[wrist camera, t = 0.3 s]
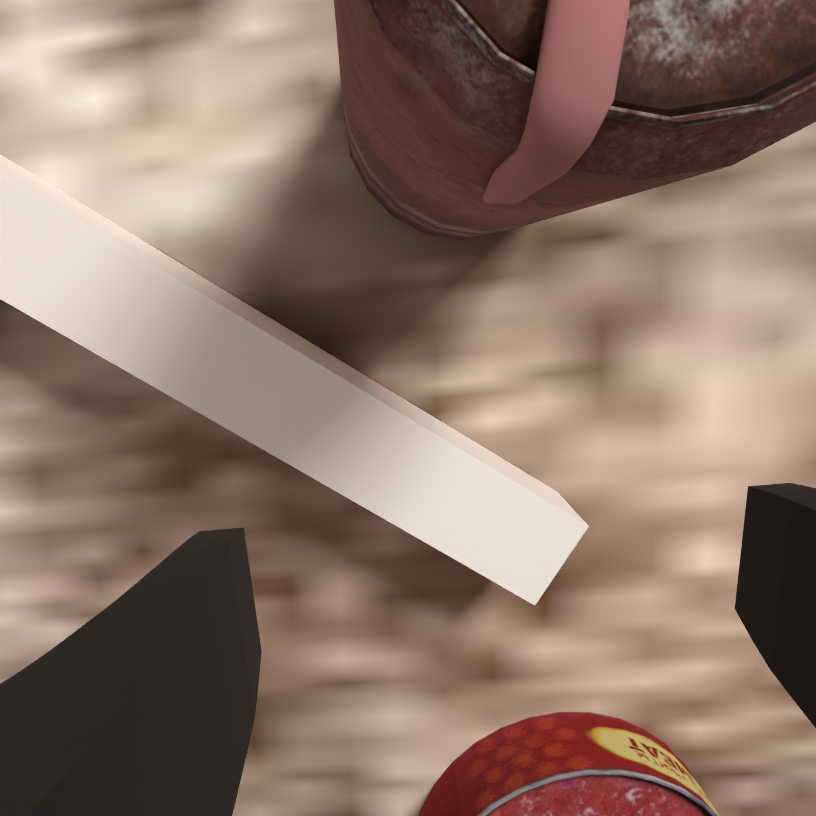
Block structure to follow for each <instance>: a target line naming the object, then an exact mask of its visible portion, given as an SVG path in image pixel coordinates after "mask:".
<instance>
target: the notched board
mask: <svg viewBox="0 0 816 816" xmlns="http://www.w3.org/2000/svg"><path fill="white" fill-rule="evenodd" d="M1 300H3V301H4V302H6V303H8V304H10V305H11V306H13V307H15V308H17V309H18V310H20V311H22V312H24V313H25V314H27V315H29V316H31V317H32V318H34V319H36V320H38V321H39V322H41V323H43V324H45V325H46V326H48V327H50V328H52V329H53V330H55V331H57V332H58V333H60V334H62V335H64V336H65V337H67V338H69V339H71V340H72V341H74V342H76V343H78V344H79V345H81V346H83V347H85V348H86V349H88V350H90V351H92V352H93V353H95V354H97V355H99V356H100V357H102V358H104V359H106V360H107V361H109V362H111V363H113V364H114V365H116V366H118V367H120V368H121V369H123V370H125V371H127V372H128V373H130V374H132V375H134V376H135V377H137V378H139V379H141V380H142V381H144V382H146V383H147V384H149V385H151V386H153V387H154V388H156V389H158V390H160V391H161V392H163V393H165V394H167V395H168V396H170V397H172V398H174V399H175V400H177V401H179V402H181V403H182V404H184V405H186V406H188V407H189V408H191V409H193V410H195V411H196V412H198V413H200V414H202V415H203V416H205V417H207V418H209V419H210V420H212V421H214V422H216V423H217V424H219V425H221V426H223V427H224V428H226V429H228V430H230V431H231V432H233V433H235V434H237V435H238V436H240V437H242V438H243V439H245V440H247V441H249V442H250V443H252V444H254V445H256V446H257V447H259V448H261V449H263V450H264V451H266V452H268V453H270V454H271V455H273V456H275V457H277V458H278V459H280V460H282V461H284V462H285V463H287V464H289V465H291V466H292V467H294V468H296V469H298V470H299V471H301V472H303V473H305V474H306V475H308V476H310V477H312V478H313V479H315V480H317V481H319V482H320V483H322V484H324V485H326V486H327V487H329V488H331V489H333V490H334V491H336V492H338V493H339V494H341V495H343V496H345V497H346V498H348V499H350V500H352V501H353V502H355V503H357V504H359V505H360V506H362V507H364V508H366V509H367V510H369V511H371V512H373V513H374V514H376V515H378V516H380V517H381V518H383V519H385V520H387V521H388V522H390V523H392V524H394V525H395V526H397V527H399V528H401V529H402V530H404V531H406V532H408V533H409V534H411V535H413V536H415V537H416V538H418V539H420V540H422V541H423V542H425V543H427V544H428V545H430V546H432V547H434V548H435V549H437V550H439V551H441V552H442V553H444V554H446V555H448V556H449V557H451V558H453V559H455V560H456V561H458V562H460V563H462V564H463V565H465V566H467V567H469V568H470V569H472V570H474V571H476V572H477V573H479V574H481V575H483V576H484V577H486V578H488V579H490V580H491V581H493V582H495V583H497V584H498V585H500V586H502V587H504V588H505V589H507V590H509V591H511V592H512V593H514V594H516V595H518V596H519V597H521V598H523V599H524V600H526V601H528V602H530V603H531V604H533V605H536V603H537V602H538V600H539V599H540V597H541V596H542V594H543V593H544V591H545V590H546V588H547V587H548V586H549V584H550V583H551V581H552V580H553V578H554V577H555V575H556V574H557V572H558V571H559V569H560V568H561V566H562V565H563V564H564V562H565V561H566V559H567V558H568V556H569V555H570V553H571V552H572V550H573V549H574V547H575V546H576V544H577V543H578V541H579V540H580V539H581V537H582V536H583V534H584V533H585V531H586V530H587V528H588V527H589V526H588V525H587V524H586V523H585V522H584V521H583V520H582V519H581V517H580V516H579V515H578V514H577V513H576V512H575V511H574V510H573V509H572V508H571V507H570V505H569V504H568V503H567V502H566V501H565V500H564V499H563V498H562V497H561V496H560V495H559V493H558V492H557V491H555V490H553V489H552V488H550V487H548V486H547V485H545V484H543V483H542V482H540V481H538V480H537V479H535V478H533V477H532V476H530V475H529V474H527V473H525V472H524V471H522V470H520V469H519V468H517V467H515V466H514V465H512V464H510V463H509V462H507V461H505V460H504V459H502V458H500V457H499V456H497V455H496V454H494V453H492V452H491V451H489V450H487V449H486V448H484V447H482V446H481V445H479V444H477V443H476V442H474V441H472V440H471V439H469V438H467V437H466V436H464V435H463V434H461V433H459V432H458V431H456V430H454V429H453V428H451V427H449V426H448V425H446V424H444V423H443V422H441V421H439V420H438V419H436V418H434V417H433V416H431V415H430V414H428V413H426V412H425V411H423V410H421V409H420V408H418V407H416V406H415V405H413V404H411V403H410V402H408V401H406V400H405V399H403V398H401V397H400V396H398V395H397V394H395V393H393V392H392V391H390V390H388V389H387V388H385V387H383V386H382V385H380V384H378V383H377V382H375V381H373V380H372V379H370V378H368V377H367V376H365V375H364V374H362V373H360V372H359V371H357V370H355V369H354V368H352V367H350V366H349V365H347V364H345V363H344V362H342V361H340V360H339V359H337V358H335V357H334V356H332V355H331V354H329V353H327V352H326V351H324V350H322V349H321V348H319V347H317V346H316V345H314V344H312V343H311V342H309V341H307V340H306V339H304V338H302V337H301V336H299V335H297V334H296V333H294V332H293V331H291V330H289V329H288V328H286V327H284V326H283V325H281V324H279V323H278V322H276V321H274V320H273V319H271V318H269V317H268V316H266V315H264V314H263V313H261V312H260V311H258V310H256V309H255V308H253V307H251V306H250V305H248V304H246V303H245V302H243V301H241V300H240V299H238V298H236V297H235V296H233V295H231V294H230V293H228V292H227V291H225V290H223V289H222V288H220V287H218V286H217V285H215V284H213V283H212V282H210V281H208V280H207V279H205V278H203V277H202V276H200V275H198V274H197V273H195V272H194V271H192V270H190V269H189V268H187V267H185V266H184V265H182V264H180V263H179V262H177V261H175V260H174V259H172V258H170V257H169V256H167V255H165V254H164V253H162V252H161V251H159V250H157V249H156V248H154V247H152V246H151V245H149V244H147V243H146V242H144V241H142V240H141V239H139V238H137V237H136V236H134V235H132V234H131V233H129V232H128V231H126V230H124V229H123V228H121V227H119V226H118V225H116V224H114V223H113V222H111V221H109V220H108V219H106V218H104V217H103V216H101V215H99V214H98V213H96V212H95V211H93V210H91V209H90V208H88V207H86V206H85V205H83V204H81V203H80V202H78V201H76V200H75V199H73V198H71V197H70V196H68V195H66V194H65V193H63V192H62V191H60V190H58V189H57V188H55V187H53V186H52V185H50V184H48V183H47V182H45V181H43V180H42V179H40V178H38V177H37V176H35V175H33V174H32V173H30V172H29V171H27V170H25V169H24V168H22V167H20V166H19V165H17V164H15V163H14V162H12V161H10V160H9V159H7V158H5V157H4V156H2V155H0V301H1Z"/></svg>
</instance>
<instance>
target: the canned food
mask: <svg viewBox="0 0 816 816" xmlns="http://www.w3.org/2000/svg"><path fill="white" fill-rule="evenodd" d="M419 816H719V815H718V813H717V812H716V810H715V809H714V807H713V806H712V804H711V803H710V801H709V800H708V798H707V797H706V795H705V794H704V792H703V791H702V789H701V788H700V786H699V785H698V783H697V782H696V780H695V779H694V777H693V776H692V774H691V773H690V771H689V770H688V768H687V767H686V765H685V763H684V762H683V761H682V760H681V759H680V758H679V756H678V755H677V754H676V753H675V752H674V751H673V750H672V749H671V748H670V747H669V746H668V745H667V744H666V743H665V742H663V741H662V740H660V739H659V738H657V737H656V736H655V735H653V734H652V733H650V732H649V731H647V730H646V729H644V728H642V727H639V726H637V725H635V724H632V723H630V722H627V721H625V720H622V719H620V718H617V717H612V716H607V715H602V714H596V713H591V712H557V713H551V714H546V715H540V716H534V717H529V718H527V719H524V720H521V721H518V722H516V723H513V724H510V725H507V726H505V727H502V728H500V729H498V730H496V731H495V732H493V733H491V734H490V735H488V736H486V737H484V738H483V739H481V740H479V741H477V742H476V743H474V744H473V745H472V746H471V747H470V748H468V749H467V750H466V751H465V752H464V753H463V754H461V755H460V756H459V757H458V758H457V759H455V760H454V761H453V762H452V763H451V764H450V766H449V767H448V768H447V769H446V771H445V772H444V773H443V774H442V776H441V777H440V778H439V779H438V780H437V782H436V783H435V784H434V786H433V788H432V790H431V792H430V793H429V795H428V797H427V799H426V801H425V803H424V805H423V807H422V809H421V812H420V815H419Z"/></svg>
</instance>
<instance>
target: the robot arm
mask: <svg viewBox="0 0 816 816" xmlns="http://www.w3.org/2000/svg"><path fill="white" fill-rule="evenodd" d="M735 610H736V612H737V613H738V615H739V617H740V619H741V621H742V622H743V624H744V626H745V628H746V630H747V631H748V633H749V635H750V637H751V639H752V640H753V642H754V644H755V645H756V647H757V649H758V650H759V652H760V654H761V655H762V657H763V658H764V660H765V662H766V663H767V665H768V667H769V668H770V670H771V671H772V672H773V674H774V675H775V676H776V678H777V679H778V680H779V682H780V683H781V684H782V686H783V687H784V688H785V689H786V691H787V692H788V693H789V695H790V696H791V697H792V698H793V700H794V701H795V702H796V704H797V705H798V706H799V707H800V709H801V710H802V711H803V713H804V714H805V715H806V716H807V718H808V719H809V720H810V721H811V723H812V724H813V725H814V726H815V728H816V488H811V487H807V486H803V485H797V484H792V483H784V484H772V485H760V486H748V493H747V502H746V511H745V520H744V529H743V539H742V548H741V557H740V566H739V575H738V584H737V594H736V603H735ZM260 661H261V645H260V638H259V631H258V624H257V617H256V610H255V603H254V596H253V589H252V583H251V576H250V569H249V562H248V555H247V548H246V541H245V534H244V528H235V529H222V530H210V531H199V532H198V533H196V534H195V535H194V536H192V537H191V538H190V539H188V540H187V541H186V542H185V543H183V544H182V545H181V546H180V547H179V548H177V549H176V550H175V551H174V552H173V553H171V554H170V555H169V556H168V557H167V558H166V559H164V560H163V561H162V562H161V563H160V564H159V565H157V566H156V567H155V568H154V569H153V570H152V571H150V572H149V573H148V574H147V575H146V576H144V577H143V578H142V579H141V580H140V581H139V582H137V583H136V584H135V585H134V586H133V587H131V588H130V589H129V590H128V591H127V592H125V593H124V594H123V595H122V596H121V597H119V598H118V599H117V600H116V601H115V602H113V603H112V604H111V605H110V606H108V607H107V608H106V609H104V610H103V611H102V612H100V613H99V614H98V615H96V616H95V617H94V618H93V619H91V620H90V621H89V622H87V623H86V624H85V625H83V626H82V627H81V628H79V629H78V630H77V631H75V632H74V633H73V634H72V635H70V636H69V637H68V638H66V639H65V640H64V641H62V642H61V643H60V644H58V645H57V646H56V647H54V648H53V649H52V650H50V651H49V652H47V653H46V654H45V655H43V656H42V657H40V658H39V659H38V660H36V661H35V662H33V663H32V664H30V665H29V666H27V667H26V668H24V669H23V670H21V671H20V672H18V673H17V674H15V675H14V676H12V677H11V678H9V679H7V680H6V681H4V682H3V683H1V684H0V816H232V814H233V810H234V805H235V801H236V797H237V793H238V788H239V784H240V780H241V776H242V771H243V767H244V763H245V758H246V754H247V750H248V745H249V741H250V737H251V732H252V728H253V723H254V718H255V711H256V702H257V693H258V683H259V672H260Z"/></svg>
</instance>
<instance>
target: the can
mask: <svg viewBox="0 0 816 816" xmlns="http://www.w3.org/2000/svg"><path fill="white" fill-rule="evenodd" d="M334 5H335V17H336V29H337V41H338V53H339V64H340V76H341V88H342V100H343V111H344V120H345V126H346V132H347V138H348V144H349V150H350V156H351V158H352V160H353V162H354V164H355V166H356V168H357V169H358V171H359V173H360V175H361V177H362V179H363V181H364V183H365V185H366V187H367V189H368V191H369V192H370V193H371V194H372V195H373V196H374V197H375V198H376V199H377V200H378V201H379V202H380V203H381V204H382V205H383V206H384V207H385V208H386V209H387V210H388V211H389V212H390V213H391V214H392V215H393V216H394V217H395V218H397V219H399V220H401V221H403V222H405V223H407V224H409V225H411V226H413V227H414V228H416V229H418V230H420V231H422V232H424V233H426V234H432V235H438V236H444V237H450V238H456V239H467V238H473V237H479V236H485V235H491V234H497V233H500V232H504V231H507V230H511V229H514V228H518V227H521V226H524V225H528V224H531V223H535V222H538V221H542V220H545V219H549V218H552V217H555V216H559V215H562V214H566V213H569V212H573V211H576V210H580V209H583V208H587V207H590V206H593V205H597V204H600V203H604V202H607V201H611V200H614V199H618V198H621V197H625V196H628V195H631V194H635V193H638V192H642V191H645V190H649V189H652V188H656V187H659V186H662V185H666V184H669V183H673V182H676V181H680V180H683V179H687V178H690V177H694V176H697V175H700V174H704V173H707V172H711V171H714V170H718V169H721V168H725V167H728V166H731V165H734V164H736V163H737V162H739V161H741V160H743V159H745V158H747V157H749V156H751V155H753V154H755V153H757V152H758V151H760V150H762V149H764V148H766V147H768V146H770V145H772V144H774V143H776V142H778V141H780V140H781V139H783V138H785V137H787V136H789V135H791V134H793V133H795V132H797V131H799V130H801V129H802V128H804V127H806V126H808V125H810V124H812V123H814V122H816V0H334Z"/></svg>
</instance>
